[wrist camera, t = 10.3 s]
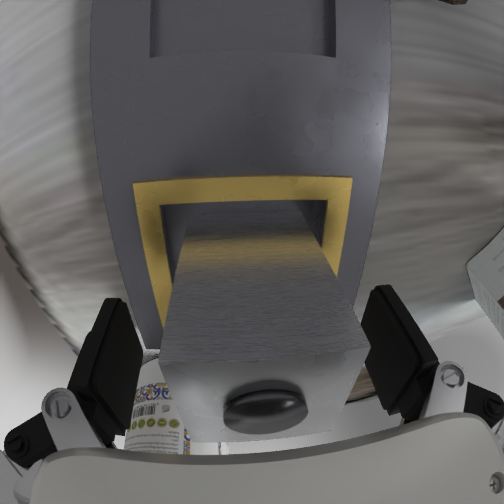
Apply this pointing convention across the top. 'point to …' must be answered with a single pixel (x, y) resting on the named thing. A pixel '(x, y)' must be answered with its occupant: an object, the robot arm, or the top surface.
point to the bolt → (455, 1)
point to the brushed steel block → (258, 331)
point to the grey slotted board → (237, 126)
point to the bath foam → (161, 420)
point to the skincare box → (490, 280)
